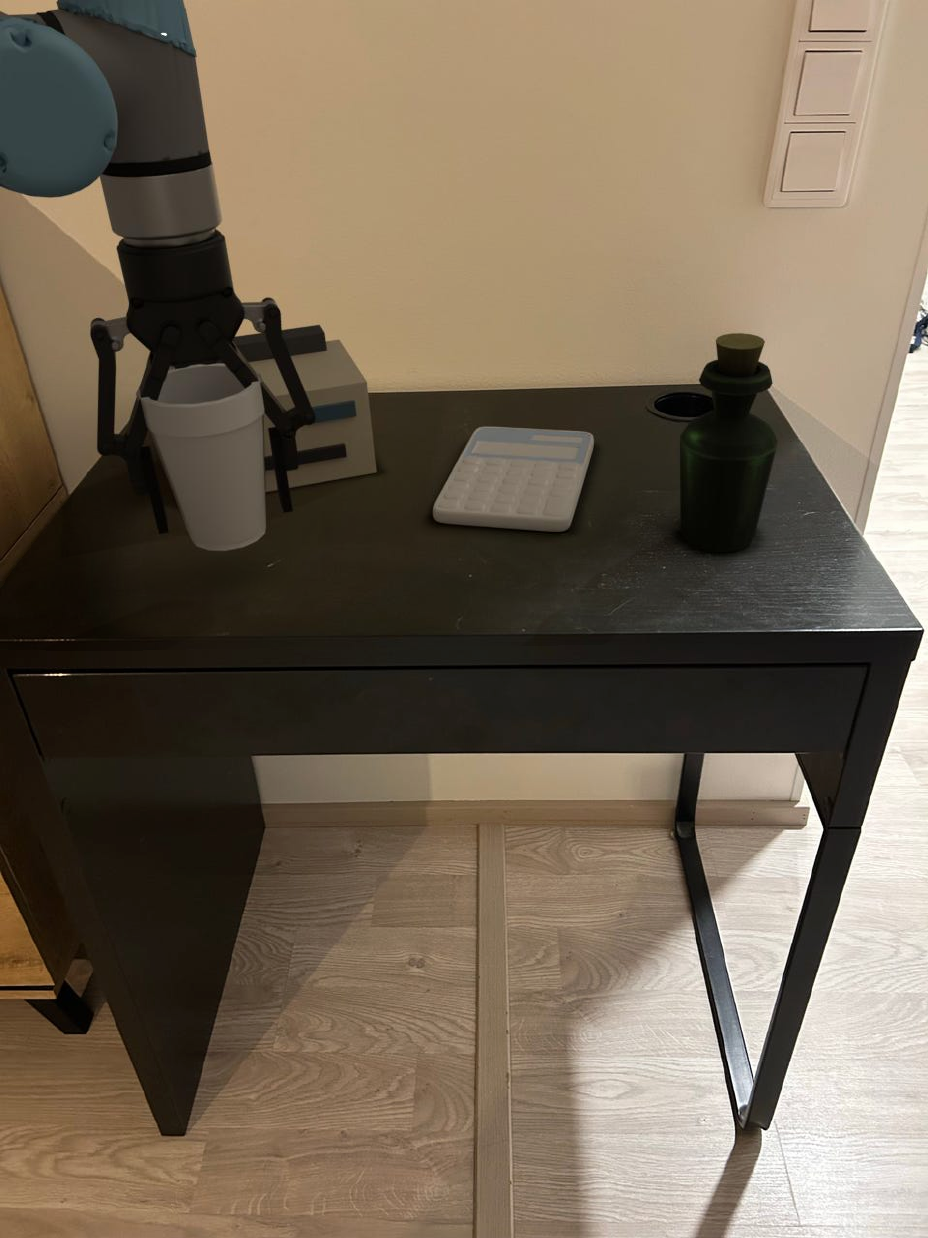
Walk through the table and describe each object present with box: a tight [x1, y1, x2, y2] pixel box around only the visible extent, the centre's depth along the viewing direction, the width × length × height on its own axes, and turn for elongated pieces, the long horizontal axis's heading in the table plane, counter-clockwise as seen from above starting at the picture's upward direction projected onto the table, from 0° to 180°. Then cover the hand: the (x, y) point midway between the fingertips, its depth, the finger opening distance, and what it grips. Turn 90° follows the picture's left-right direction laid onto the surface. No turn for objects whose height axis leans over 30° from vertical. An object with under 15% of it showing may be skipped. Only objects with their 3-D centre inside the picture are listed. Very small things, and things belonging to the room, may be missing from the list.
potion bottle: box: [679, 332, 779, 553], centre depth 82 cm, size 8×8×18 cm
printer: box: [169, 324, 377, 493], centre depth 101 cm, size 20×14×12 cm
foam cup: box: [135, 363, 267, 552], centre depth 77 cm, size 10×9×13 cm
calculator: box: [432, 426, 595, 533], centre depth 97 cm, size 13×20×2 cm, turn 167°
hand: (225, 515), depth 80 cm, fingers closed on foam cup, 9 cm apart
